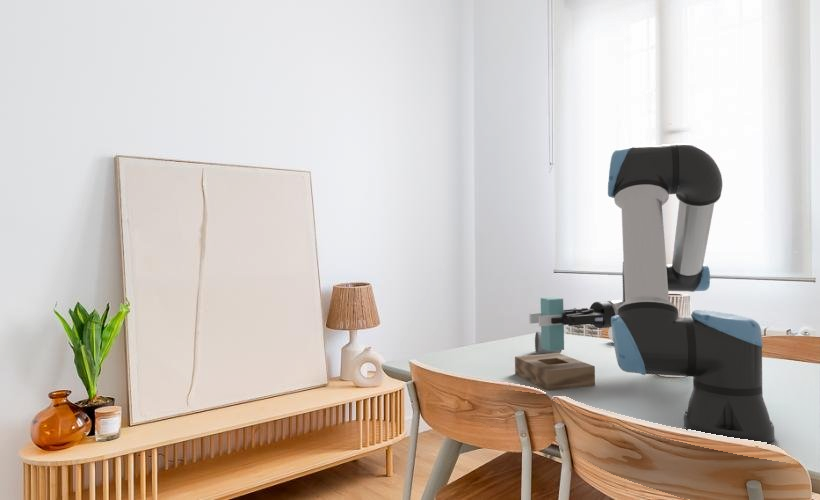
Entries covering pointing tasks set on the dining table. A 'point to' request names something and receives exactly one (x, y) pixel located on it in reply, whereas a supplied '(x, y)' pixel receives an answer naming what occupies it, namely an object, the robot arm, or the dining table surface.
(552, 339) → the teal peg
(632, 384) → the dining table surface
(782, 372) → the dining table surface
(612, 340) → the geometric ball
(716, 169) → the robot arm
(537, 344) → the gray can
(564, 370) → the socket block
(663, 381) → the dining table surface
